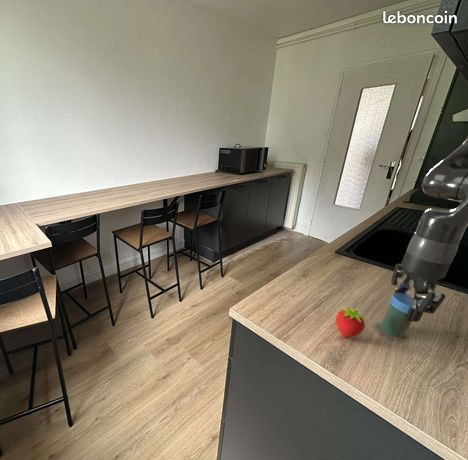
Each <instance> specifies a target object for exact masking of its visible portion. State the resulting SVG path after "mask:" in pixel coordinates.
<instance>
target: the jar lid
mask: <svg viewBox="0 0 468 460" xmlns="http://www.w3.org/2000/svg"><path fill="white" fill-rule="evenodd" d="M390 303H391V305H392V306H393V307H394V308H396V309H397V310H399V311H401V312H404V313H406V314H408V312H409V310H410V308H411V307H412V299H411V298H410V294H408V293H407V294H405V293H393V294H392V295H391V297H390V299H389V304H390ZM421 303H422V300H419V301H418V305H420V304H421Z"/></svg>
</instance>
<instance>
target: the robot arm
mask: <svg viewBox="0 0 468 460" xmlns="http://www.w3.org/2000/svg"><path fill="white" fill-rule="evenodd" d="M421 189H422V191H423V193H424V194H425V195H426V196H428V197H431V198H436V199H441V200H446V201H452V202H459V203H460V204H459V205H458V206H457V207H456V208H430V209H429V208H428V209H426V210H425V211H424V212H423V213H422V215H421V217H420V219H419V222H418V225H417V227H416V230H415V232H414V234H413V235H412V237H411V239H410V241H409V243H408V245H407V249H406V250H405V254H404V256H403V257H402V258H403V259H402V261H401V263H396V264H395V265H394V269H393V273H392V277H391V281H390V284H391V285H392V286H394V287H393V289H394V293H405V294H408V292H409V295H410V298H411V299H412V307H411V308H410V310H409V312H408V314H407V317H406V318H407V319H408V320H409V321H412V322H413V323H414V322H415V323H418V322H420V321H421V318H422V317H423V315H424V313H425V314H431V315H432V314H433V315H434V314H435V312H436V311H437V310H438V308H439V307H440V306H441V305H442V303H443V301H444V300H445V299H446V294H445V293H442V292H439V291H438V290H437V289H436V288H437V282H438V281H440V280H442V279H443V278H445V277H446V275H447V273H448V270H450V269H449V268H450V266H451V264H452V263H453V260H454V258H455V256H456V254H457V252H458V248H459V245H460V242H461V239H463V235H464V234H465V231H466V229H467V227H468V137H467V138H465V140H464V142H463V143H462V144H461V145H460V146H459V147H457V148H456V149H455V150H454V151H453V152H452V153H450V154H449V155H448V156H447V157H445V158H444V159H443V160H441V161H440V162H438V163H437V164H436V165H435V166H433V168H431V169H430V170H429V172H428V173H427V174H426V175H425V177H424V178H423V180H422V184H421ZM398 278H399V280H398ZM394 293H393V294H394ZM419 295H420V296H419ZM421 295H423V296H421ZM419 300H420V301H422V303H421V304H420V305H418V301H419Z"/></svg>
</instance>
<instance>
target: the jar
mask: <svg viewBox="0 0 468 460" xmlns="http://www.w3.org/2000/svg"><path fill="white" fill-rule="evenodd" d="M406 317H407V314H406V313H404V312H401V311H399V310H397V309H396V308H394V307H393V306H392V305H391V303H390V302H389V304H388V307H387V309H386V311H385V314H384V316H383V318H382V320H381V322H380V325H379V328H380V329H381V331H382V332H383V333H385V334H386V335H387V336H390V337H393V338H397V339H403V338H404V337H405V336H406V333H407V332H408V330H409V328H410V326H411V325H412V322H413V321H409V320H408V319H407V318H406Z"/></svg>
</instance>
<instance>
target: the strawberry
mask: <svg viewBox="0 0 468 460" xmlns="http://www.w3.org/2000/svg"><path fill="white" fill-rule="evenodd" d="M359 309H360V308H356V309H352V307H350V306H349V308H344V307H342V309H340V310H339V311H338V312H337V314H336V315H335V323H336V326H337V330H338V332H339V333H340V335H341V337H342V338H344V339H348V338H353V337H357V336H358V335H360V334H361V333H362V332H363V331H364V328H365V320H367V318H366V317H365V316H363V315H361V314H360V313H359V312H358V311H359Z"/></svg>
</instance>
